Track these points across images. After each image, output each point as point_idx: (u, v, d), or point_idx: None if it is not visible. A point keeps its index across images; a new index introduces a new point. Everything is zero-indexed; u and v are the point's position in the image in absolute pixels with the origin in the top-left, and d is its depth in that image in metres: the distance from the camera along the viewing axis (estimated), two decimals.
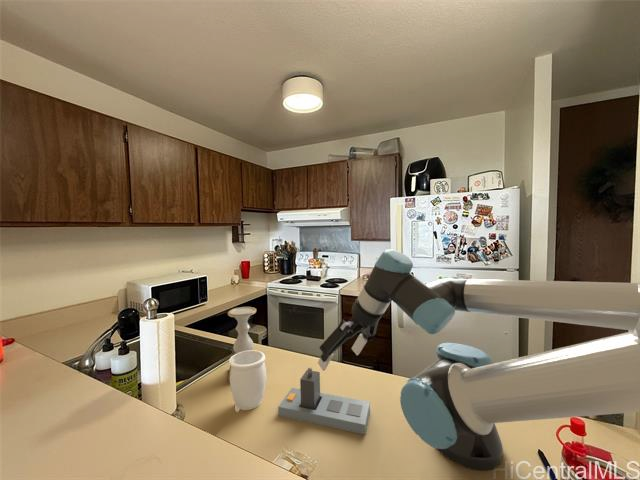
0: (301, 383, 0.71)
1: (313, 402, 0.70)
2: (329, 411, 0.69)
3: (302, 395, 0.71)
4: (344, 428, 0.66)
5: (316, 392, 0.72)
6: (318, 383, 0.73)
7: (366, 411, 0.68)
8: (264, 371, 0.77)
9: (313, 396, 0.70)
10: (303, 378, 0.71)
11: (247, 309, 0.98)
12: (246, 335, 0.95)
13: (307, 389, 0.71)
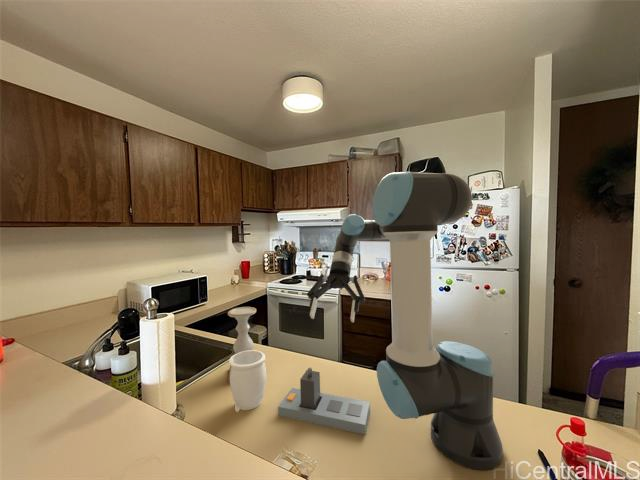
0: (301, 383, 0.71)
1: (313, 402, 0.70)
2: (329, 411, 0.69)
3: (302, 395, 0.71)
4: (344, 428, 0.66)
5: (316, 392, 0.72)
6: (318, 383, 0.73)
7: (366, 411, 0.68)
8: (264, 371, 0.77)
9: (313, 396, 0.70)
10: (303, 378, 0.71)
11: (247, 309, 0.98)
12: (246, 335, 0.95)
13: (307, 389, 0.71)
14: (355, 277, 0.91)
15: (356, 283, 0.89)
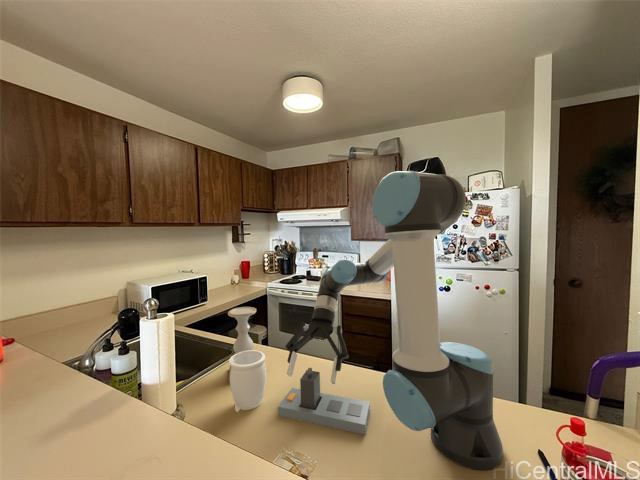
0: (301, 383, 0.71)
1: (313, 402, 0.70)
2: (329, 411, 0.69)
3: (302, 395, 0.71)
4: (344, 428, 0.66)
5: (316, 392, 0.72)
6: (318, 383, 0.73)
7: (366, 411, 0.68)
8: (264, 371, 0.77)
9: (313, 396, 0.70)
10: (303, 378, 0.71)
11: (247, 309, 0.98)
12: (246, 335, 0.95)
13: (307, 389, 0.71)
14: (338, 328, 0.82)
15: (339, 335, 0.80)
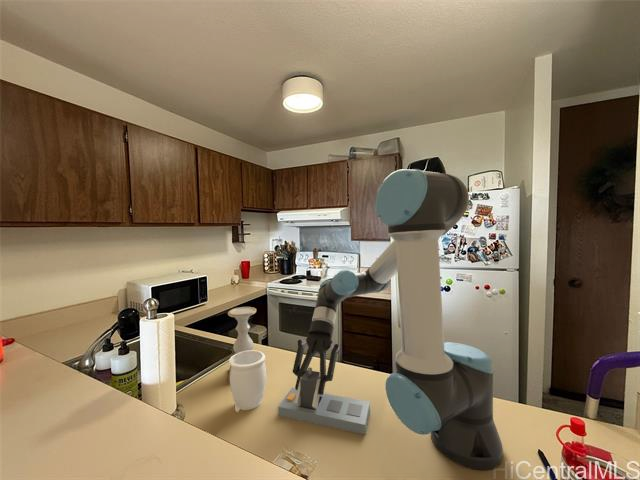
0: (301, 383, 0.71)
1: None
2: (329, 411, 0.69)
3: (302, 395, 0.71)
4: (344, 428, 0.66)
5: None
6: None
7: (366, 411, 0.68)
8: (264, 371, 0.77)
9: (313, 396, 0.70)
10: (303, 378, 0.71)
11: (247, 309, 0.98)
12: (246, 335, 0.95)
13: (307, 389, 0.71)
14: (336, 346, 0.77)
15: (332, 355, 0.76)
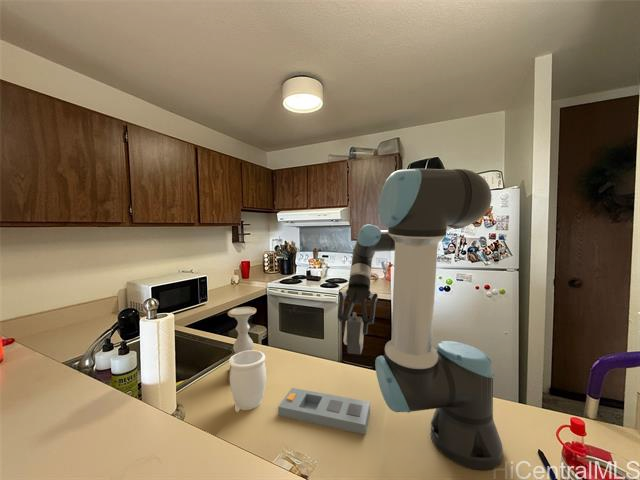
0: (348, 324, 0.79)
1: None
2: (329, 411, 0.69)
3: (348, 335, 0.79)
4: (344, 428, 0.66)
5: None
6: None
7: (366, 411, 0.68)
8: (264, 371, 0.77)
9: (359, 335, 0.78)
10: (349, 320, 0.80)
11: (247, 309, 0.98)
12: (246, 335, 0.95)
13: (353, 329, 0.79)
14: (375, 295, 0.86)
15: (373, 302, 0.84)
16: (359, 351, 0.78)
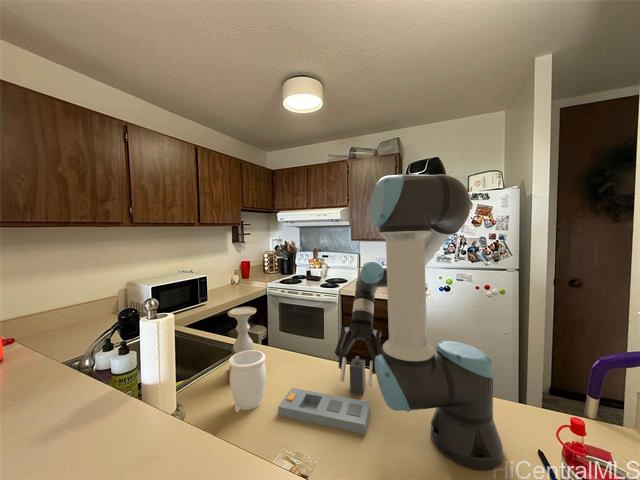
0: (350, 369, 0.80)
1: (361, 386, 0.79)
2: (329, 411, 0.69)
3: (351, 380, 0.80)
4: (344, 428, 0.66)
5: (363, 378, 0.81)
6: (364, 370, 0.83)
7: (366, 411, 0.68)
8: (264, 371, 0.77)
9: (362, 381, 0.79)
10: (352, 365, 0.81)
11: (247, 309, 0.98)
12: (246, 335, 0.95)
13: (355, 374, 0.80)
14: (378, 332, 0.87)
15: (378, 339, 0.85)
16: None
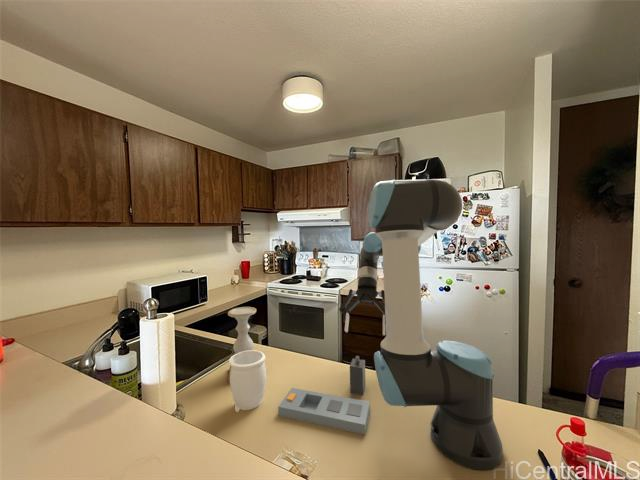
0: (350, 369, 0.80)
1: (362, 386, 0.79)
2: (329, 411, 0.69)
3: (351, 380, 0.80)
4: (344, 428, 0.66)
5: (363, 378, 0.81)
6: (364, 370, 0.83)
7: (366, 411, 0.68)
8: (264, 371, 0.77)
9: (362, 381, 0.79)
10: (352, 365, 0.81)
11: (247, 309, 0.98)
12: (246, 335, 0.95)
13: (355, 374, 0.80)
14: (382, 292, 0.99)
15: (384, 298, 0.98)
16: None
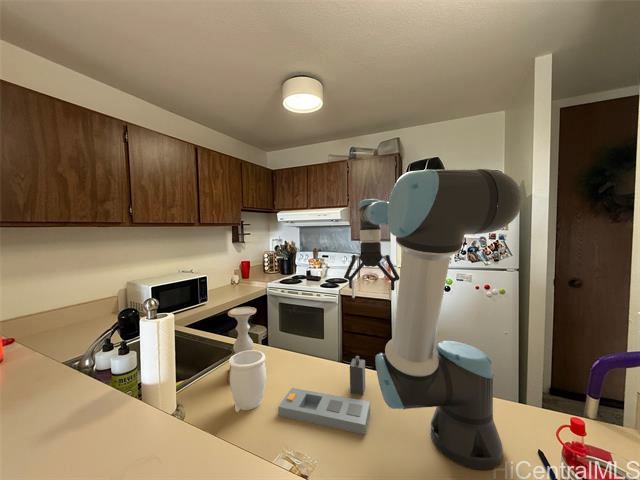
0: (350, 369, 0.80)
1: (361, 386, 0.79)
2: (329, 411, 0.69)
3: (351, 380, 0.80)
4: (344, 428, 0.66)
5: (363, 378, 0.81)
6: (364, 370, 0.83)
7: (366, 411, 0.68)
8: (264, 371, 0.77)
9: (362, 381, 0.79)
10: (352, 365, 0.81)
11: (247, 309, 0.98)
12: (246, 335, 0.95)
13: (355, 374, 0.80)
14: (387, 257, 0.93)
15: (389, 264, 0.93)
16: None
